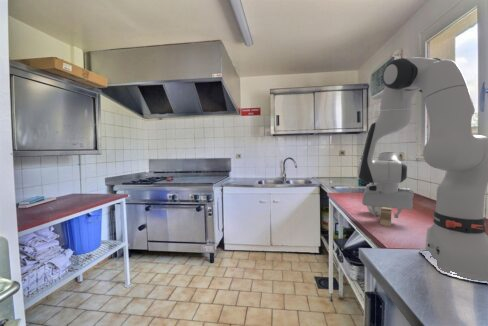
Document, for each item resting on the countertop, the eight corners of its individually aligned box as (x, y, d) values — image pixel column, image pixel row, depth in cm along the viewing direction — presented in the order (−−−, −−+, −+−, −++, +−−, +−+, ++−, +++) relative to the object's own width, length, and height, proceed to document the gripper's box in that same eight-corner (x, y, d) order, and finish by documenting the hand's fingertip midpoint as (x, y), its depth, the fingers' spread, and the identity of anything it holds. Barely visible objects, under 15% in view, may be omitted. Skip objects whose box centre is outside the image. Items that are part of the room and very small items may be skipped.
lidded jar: (392, 217, 121) (393, 199, 120) (369, 216, 123) (370, 198, 122) (385, 212, 131) (385, 194, 130) (363, 210, 133) (364, 194, 133)
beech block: (390, 226, 108) (391, 213, 107) (380, 225, 110) (380, 212, 110) (391, 219, 118) (391, 207, 118) (381, 218, 120) (382, 206, 120)
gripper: (412, 187, 111) (411, 217, 112) (362, 184, 120) (361, 212, 121) (415, 190, 105) (413, 221, 106) (362, 186, 115) (361, 215, 116)
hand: (385, 216), depth 114 cm, fingers open, 7 cm apart
